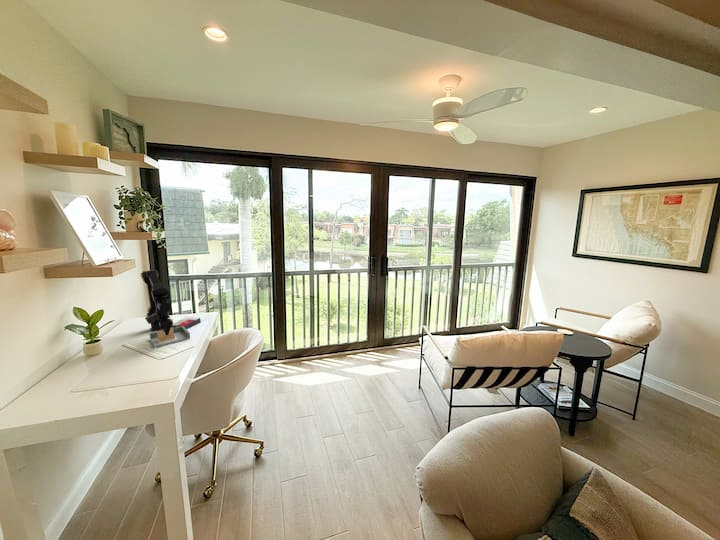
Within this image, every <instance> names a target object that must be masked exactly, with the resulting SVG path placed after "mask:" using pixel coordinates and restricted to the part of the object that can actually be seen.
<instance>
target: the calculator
mask: <svg viewBox="0 0 720 540" xmlns="http://www.w3.org/2000/svg"><path fill="white" fill-rule="evenodd" d="M201 321H202V320H201V318H200V317H192V316H186V317H184V318H181V319H180V320H177V321H175V322H173V325H172V326H171V327H173V328H175V327H180V326H184V327H185V328H186V329H187V330H189V329H190V328H192V327H194V326H196V325H199V324H201V323H202V322H201Z"/></svg>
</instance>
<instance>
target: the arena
mask: <svg viewBox="0 0 720 540" xmlns="http://www.w3.org/2000/svg"><path fill="white" fill-rule="evenodd" d="M188 330H189V329H186V328H185V327H184V326H180V327H175V328H173V333H174V336H175V339H173V340H169V341H165V342H161V343H159V341H158V337H157V331H153V332H150V333H149V339H151V340H150V341H152V342H151V344H152V343H153V344H152V346H153V347H154V348H155V347H157V348H161V347H164V345H165V346H168V345H171V344H176V343H180V342H182V341H187V340H190V339H191V334H190V333H191V332H190V331H188ZM160 346H161V347H160Z"/></svg>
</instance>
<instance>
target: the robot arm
mask: <svg viewBox="0 0 720 540" xmlns="http://www.w3.org/2000/svg"><path fill="white" fill-rule="evenodd" d="M140 277H141V278H140V279H142V281H143V283H144V284H146V289H147V295H148V301H149V307H148V309H147V313H146V317H145V318H144V319H145V320H146V322H147V323H148V325H150V328H149V329H150V331H151V332H157V331H158V330H162V329H164V332H165V334H166V335H168V334H169V331H170V329H171V326H172V325H173V323H174V322H173V319H171V318H170V317H171V316H170V314H169V311H170V310H171V309H172V305H171V303H170V302H169V301H168V300H170V299H171V293H170V291H169V290H168V288H166V286H165V284H162V283H161V281H160V278H159V271H158V270H155V269H151V270H150V269H149V270H145V271H142V272H141V273H140Z"/></svg>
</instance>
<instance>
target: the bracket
mask: <svg viewBox="0 0 720 540" xmlns="http://www.w3.org/2000/svg"><path fill="white" fill-rule="evenodd" d="M156 332H157V337H158V341H159V343H161V342H165V341H169V340H173V339H175V336H174V333H173V327H171V329H170V331H169V334H168V335H166V334H165V332H164V329H160V330H156Z"/></svg>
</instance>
